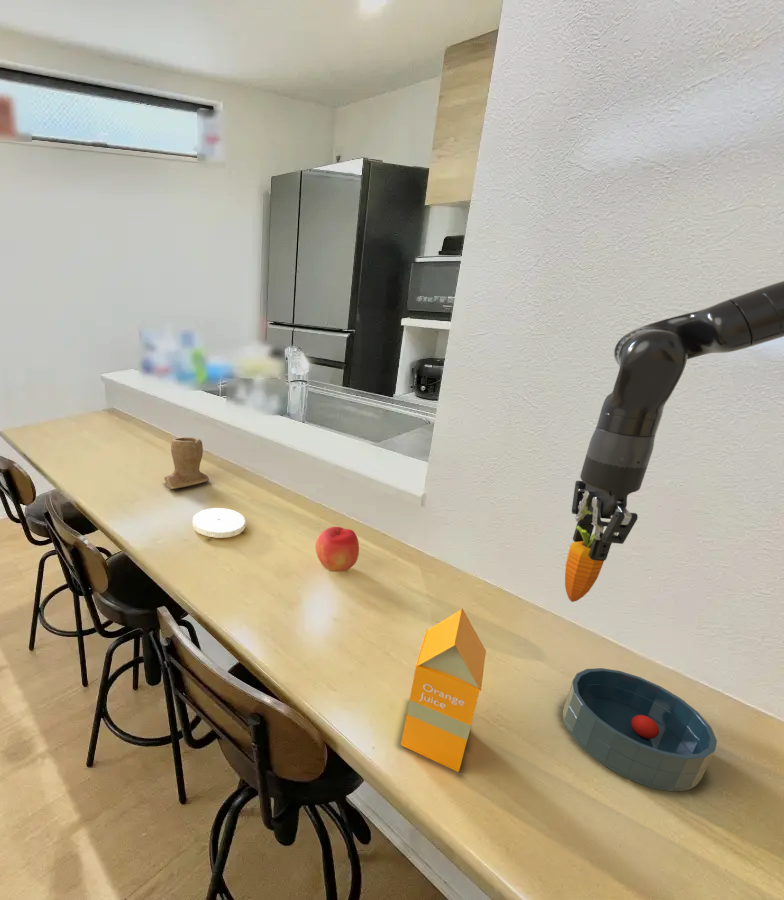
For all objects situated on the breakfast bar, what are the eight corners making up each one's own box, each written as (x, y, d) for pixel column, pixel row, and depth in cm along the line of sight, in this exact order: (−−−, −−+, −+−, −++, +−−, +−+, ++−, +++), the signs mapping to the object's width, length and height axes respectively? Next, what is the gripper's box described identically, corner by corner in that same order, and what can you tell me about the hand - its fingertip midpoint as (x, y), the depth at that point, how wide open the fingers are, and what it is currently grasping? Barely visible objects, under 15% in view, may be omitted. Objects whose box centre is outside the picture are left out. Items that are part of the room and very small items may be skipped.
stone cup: (195, 472, 169) (195, 430, 164) (213, 484, 160) (214, 440, 154) (155, 481, 163) (154, 437, 158) (172, 494, 153) (171, 448, 148)
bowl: (683, 725, 74) (697, 694, 72) (716, 814, 62) (734, 780, 60) (559, 683, 82) (568, 654, 80) (567, 755, 70) (578, 723, 68)
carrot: (562, 608, 85) (585, 531, 80) (549, 591, 90) (570, 517, 85) (595, 612, 84) (621, 535, 79) (581, 594, 89) (604, 520, 84)
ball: (656, 743, 71) (668, 728, 70) (642, 743, 70) (654, 728, 69) (635, 724, 74) (646, 710, 73) (621, 725, 73) (632, 710, 72)
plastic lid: (230, 546, 123) (230, 537, 122) (182, 532, 130) (182, 523, 129) (253, 523, 134) (253, 515, 134) (208, 511, 141) (208, 503, 140)
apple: (358, 562, 116) (363, 525, 113) (353, 584, 108) (358, 544, 105) (317, 553, 120) (320, 517, 116) (309, 574, 112) (312, 535, 108)
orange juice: (399, 745, 71) (421, 632, 64) (411, 703, 78) (432, 597, 71) (460, 773, 67) (490, 656, 60) (467, 726, 74) (494, 617, 67)
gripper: (675, 476, 71) (639, 577, 76) (619, 444, 84) (591, 532, 89) (614, 471, 72) (583, 571, 78) (568, 441, 85) (544, 528, 91)
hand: (588, 550), depth 84 cm, fingers closed on carrot, 5 cm apart
